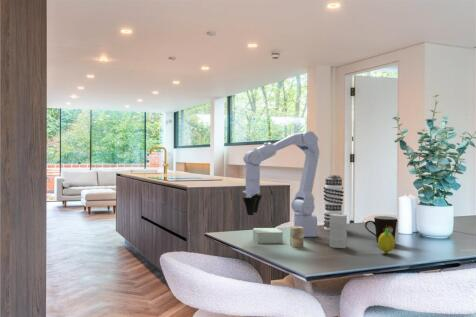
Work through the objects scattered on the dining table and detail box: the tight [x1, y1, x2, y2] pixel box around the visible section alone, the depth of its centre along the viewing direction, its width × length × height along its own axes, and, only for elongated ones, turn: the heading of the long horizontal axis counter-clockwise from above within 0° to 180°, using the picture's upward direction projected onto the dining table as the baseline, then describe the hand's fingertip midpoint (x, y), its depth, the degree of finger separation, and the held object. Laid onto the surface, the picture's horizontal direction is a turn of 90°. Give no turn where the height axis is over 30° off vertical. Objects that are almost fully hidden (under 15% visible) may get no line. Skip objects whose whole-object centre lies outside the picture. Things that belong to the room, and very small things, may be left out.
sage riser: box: [252, 227, 284, 244], centre depth 167 cm, size 10×10×4 cm
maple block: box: [289, 225, 305, 248], centre depth 157 cm, size 4×4×7 cm
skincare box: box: [329, 214, 348, 249], centre depth 156 cm, size 6×4×12 cm
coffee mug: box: [364, 215, 398, 244], centre depth 164 cm, size 12×9×10 cm
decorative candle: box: [322, 174, 344, 231], centre depth 195 cm, size 9×9×25 cm
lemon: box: [377, 225, 396, 255], centre depth 145 cm, size 7×6×10 cm
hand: (252, 213), depth 169 cm, fingers open, 7 cm apart
